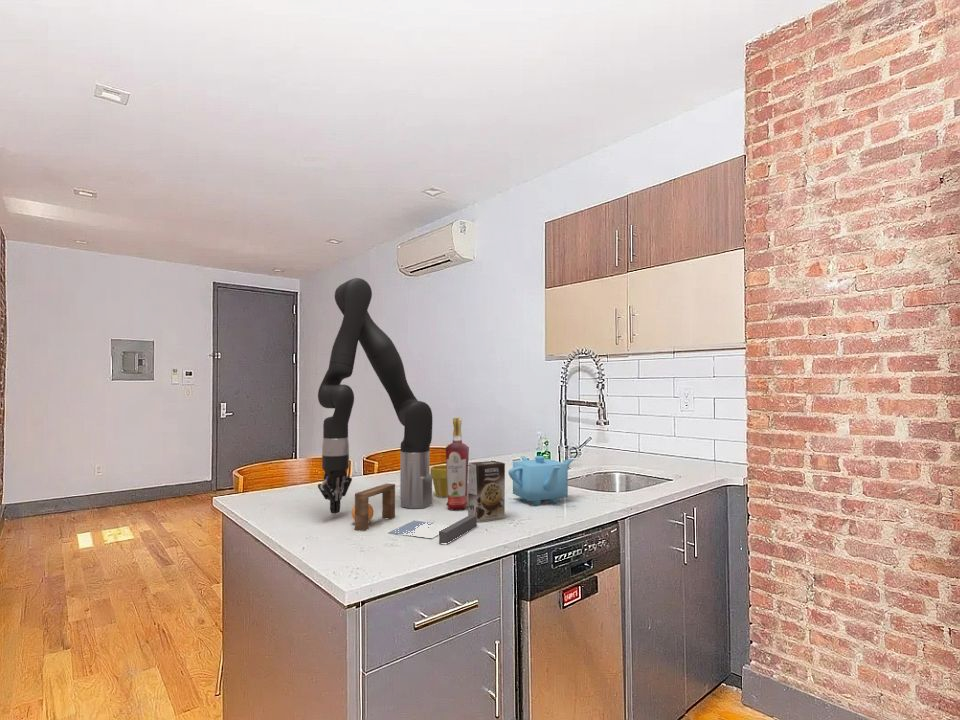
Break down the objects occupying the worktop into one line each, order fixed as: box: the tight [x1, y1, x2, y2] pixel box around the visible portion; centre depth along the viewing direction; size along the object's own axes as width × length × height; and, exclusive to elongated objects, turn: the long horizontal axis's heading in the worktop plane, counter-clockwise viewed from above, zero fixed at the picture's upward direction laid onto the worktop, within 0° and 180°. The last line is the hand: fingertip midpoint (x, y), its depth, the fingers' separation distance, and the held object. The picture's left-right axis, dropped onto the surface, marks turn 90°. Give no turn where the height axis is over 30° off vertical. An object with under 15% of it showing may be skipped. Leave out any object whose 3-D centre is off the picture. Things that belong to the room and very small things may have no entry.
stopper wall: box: [438, 515, 478, 544], centre depth 145 cm, size 2×18×3 cm, turn 156°
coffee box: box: [467, 460, 506, 523], centre depth 162 cm, size 9×6×16 cm
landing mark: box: [387, 520, 434, 537], centre depth 150 cm, size 13×13×1 cm
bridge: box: [354, 483, 396, 532], centre depth 156 cm, size 3×15×10 cm, turn 156°
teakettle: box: [508, 455, 575, 506], centre depth 184 cm, size 19×19×15 cm
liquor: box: [445, 417, 470, 511], centre depth 174 cm, size 7×7×28 cm
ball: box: [351, 503, 375, 523], centre depth 156 cm, size 6×6×6 cm
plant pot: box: [430, 464, 448, 498], centre depth 192 cm, size 10×10×10 cm
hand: (335, 512), depth 162 cm, fingers closed
